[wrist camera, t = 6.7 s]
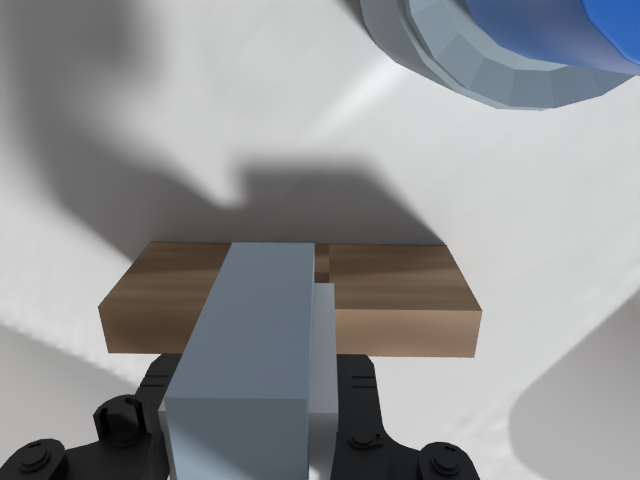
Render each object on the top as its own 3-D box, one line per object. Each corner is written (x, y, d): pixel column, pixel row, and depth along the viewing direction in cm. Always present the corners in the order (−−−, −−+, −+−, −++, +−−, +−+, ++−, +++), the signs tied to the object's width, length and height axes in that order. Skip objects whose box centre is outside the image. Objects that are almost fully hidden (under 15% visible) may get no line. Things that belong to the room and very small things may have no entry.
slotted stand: (150, 242, 32) (97, 306, 24) (446, 245, 31) (482, 310, 24) (156, 280, 33) (108, 353, 26) (441, 283, 33) (474, 357, 25)
